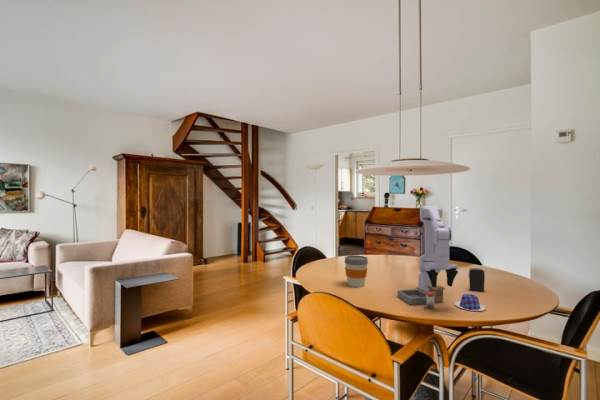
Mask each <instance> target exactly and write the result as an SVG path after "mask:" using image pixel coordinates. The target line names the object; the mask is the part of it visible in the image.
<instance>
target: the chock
mask: <svg viewBox="0 0 600 400" xmlns="http://www.w3.org/2000/svg"><path fill="white" fill-rule="evenodd" d="M428 288H429V291H434V292H436V295H434V304H436V303H444V290H445V287H443V286H442V285H440V284H437V285H436V288H434V287H432V285H428Z"/></svg>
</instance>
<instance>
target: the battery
mask: <svg viewBox="0 0 600 400" xmlns="http://www.w3.org/2000/svg"><path fill="white" fill-rule="evenodd" d="M485 275H486V274H485V270H483V269H482V268H476V267H470V268H469V269H468V281H469V283H468V285H469V286H468V287H469V288H468V290H469V291H474V292H485V280H486V279H485V278H486V276H485Z"/></svg>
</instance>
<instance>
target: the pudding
mask: <svg viewBox="0 0 600 400" xmlns="http://www.w3.org/2000/svg"><path fill="white" fill-rule="evenodd" d="M454 305H455V306H456V307H457V308H460V309H463V310H467V311H472V312H474V311H475V312H481V311H485V310H486V307H485V305H484V304H480V302H479V297H478V296H477V295H475V294H472V293H463V294H462V296H461V299H460V300H458V301H456V302H454ZM469 309H470V310H469Z"/></svg>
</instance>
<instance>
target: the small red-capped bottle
mask: <svg viewBox="0 0 600 400" xmlns="http://www.w3.org/2000/svg"><path fill="white" fill-rule="evenodd" d="M424 293H425V294H426V304H425V308H426V309H428V310H429V309H430V310H433V309H435V303H434V295H436V292H434V291H424Z"/></svg>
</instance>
